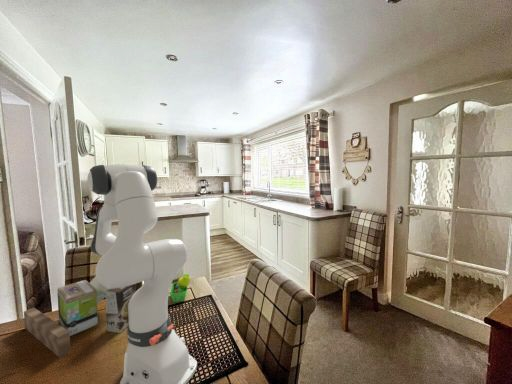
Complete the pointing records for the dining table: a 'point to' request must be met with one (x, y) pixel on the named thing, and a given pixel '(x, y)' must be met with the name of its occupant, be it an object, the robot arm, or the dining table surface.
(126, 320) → the coffee box
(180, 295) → the fruit basket
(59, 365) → the dining table surface
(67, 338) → the grey-brown long bar
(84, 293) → the tea box
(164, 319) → the robot arm
